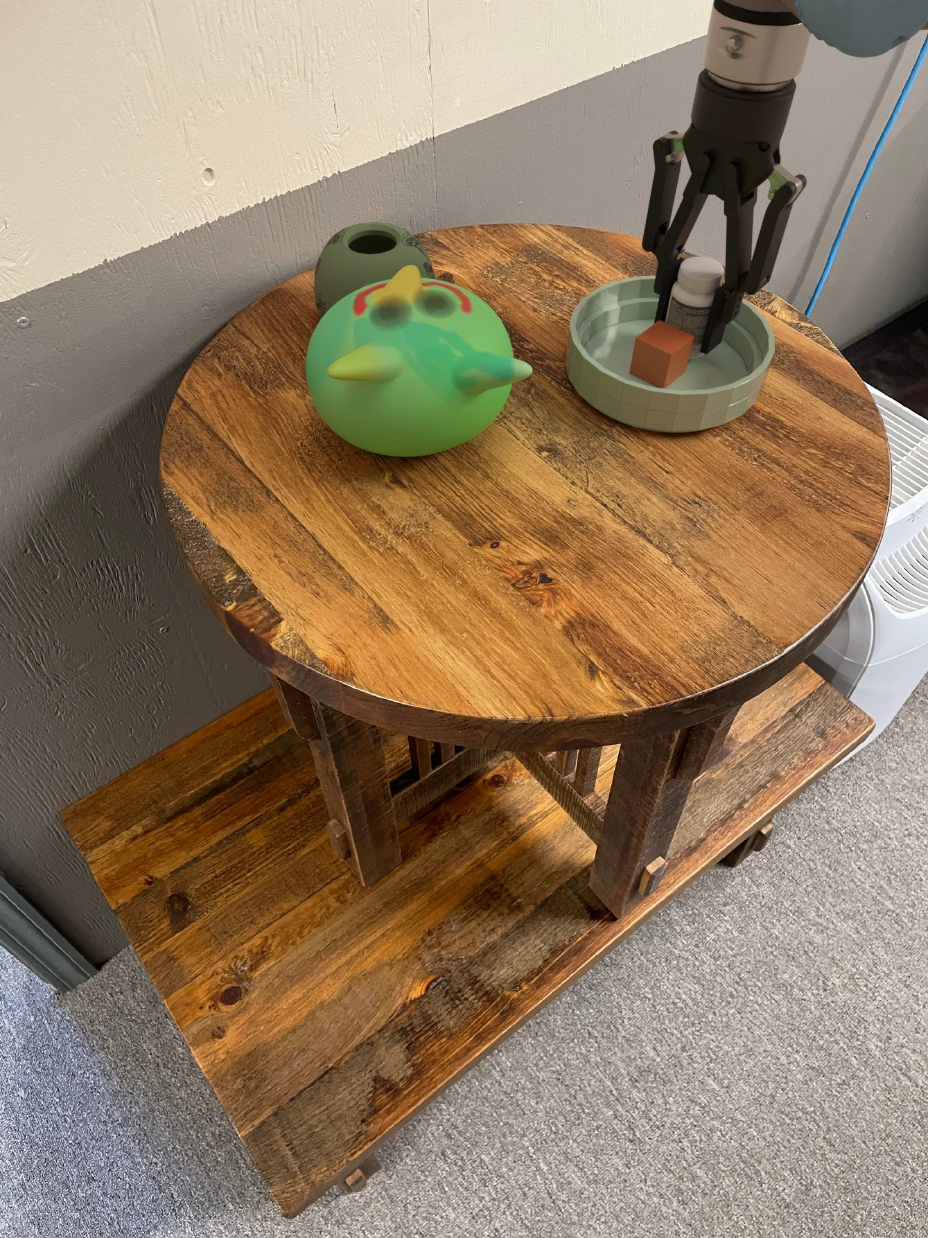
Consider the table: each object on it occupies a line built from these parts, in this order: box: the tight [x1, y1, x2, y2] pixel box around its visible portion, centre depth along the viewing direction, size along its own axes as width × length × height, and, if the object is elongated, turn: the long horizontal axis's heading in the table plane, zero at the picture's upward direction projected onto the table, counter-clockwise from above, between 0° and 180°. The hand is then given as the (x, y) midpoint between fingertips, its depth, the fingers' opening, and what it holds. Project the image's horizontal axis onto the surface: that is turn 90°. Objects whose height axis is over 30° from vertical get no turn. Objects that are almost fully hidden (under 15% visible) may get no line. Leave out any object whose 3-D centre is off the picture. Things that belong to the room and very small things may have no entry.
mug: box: [313, 221, 436, 320], centre depth 87 cm, size 16×13×9 cm
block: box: [629, 320, 694, 389], centre depth 83 cm, size 4×4×4 cm
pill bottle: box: [665, 256, 725, 359], centre depth 83 cm, size 5×5×8 cm
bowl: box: [564, 275, 776, 434], centre depth 84 cm, size 19×19×5 cm
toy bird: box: [305, 265, 533, 458], centre depth 74 cm, size 18×17×15 cm
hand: (686, 335), depth 85 cm, fingers closed on pill bottle, 5 cm apart
